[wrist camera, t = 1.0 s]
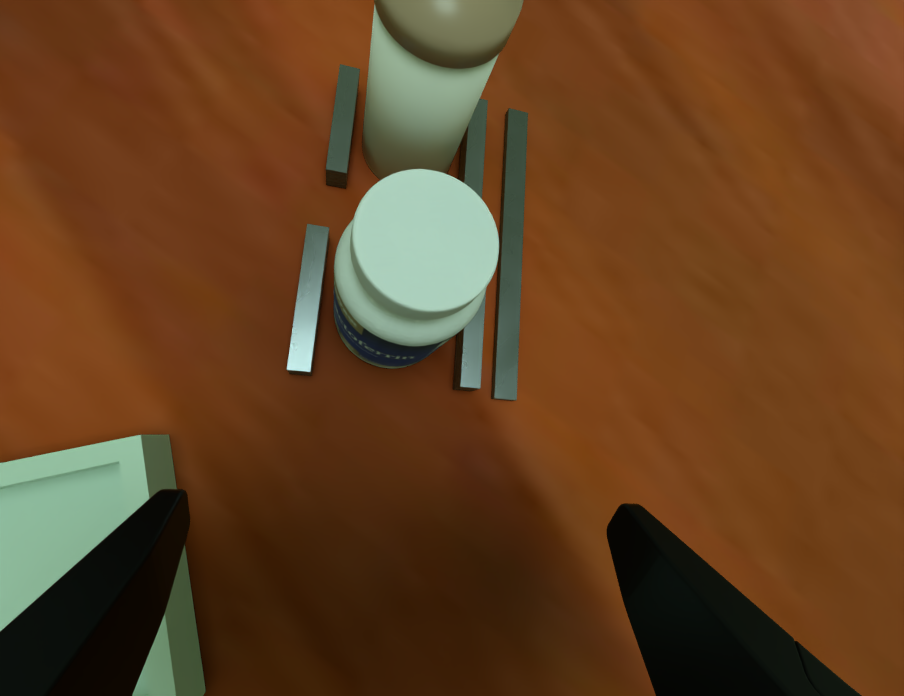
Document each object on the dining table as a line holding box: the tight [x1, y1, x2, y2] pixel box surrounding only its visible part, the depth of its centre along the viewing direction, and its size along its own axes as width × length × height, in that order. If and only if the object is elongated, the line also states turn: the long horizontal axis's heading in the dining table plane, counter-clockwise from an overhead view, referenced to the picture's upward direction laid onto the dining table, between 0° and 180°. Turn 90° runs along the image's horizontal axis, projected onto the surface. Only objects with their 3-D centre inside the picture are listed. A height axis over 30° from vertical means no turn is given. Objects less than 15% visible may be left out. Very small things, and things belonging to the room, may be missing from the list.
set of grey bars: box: [287, 64, 528, 401], centre depth 24 cm, size 17×11×2 cm, turn 176°
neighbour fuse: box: [362, 0, 523, 180], centre depth 21 cm, size 5×5×10 cm
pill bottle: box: [334, 169, 499, 368], centre depth 19 cm, size 6×6×10 cm
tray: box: [0, 435, 206, 696], centre depth 17 cm, size 11×11×3 cm
